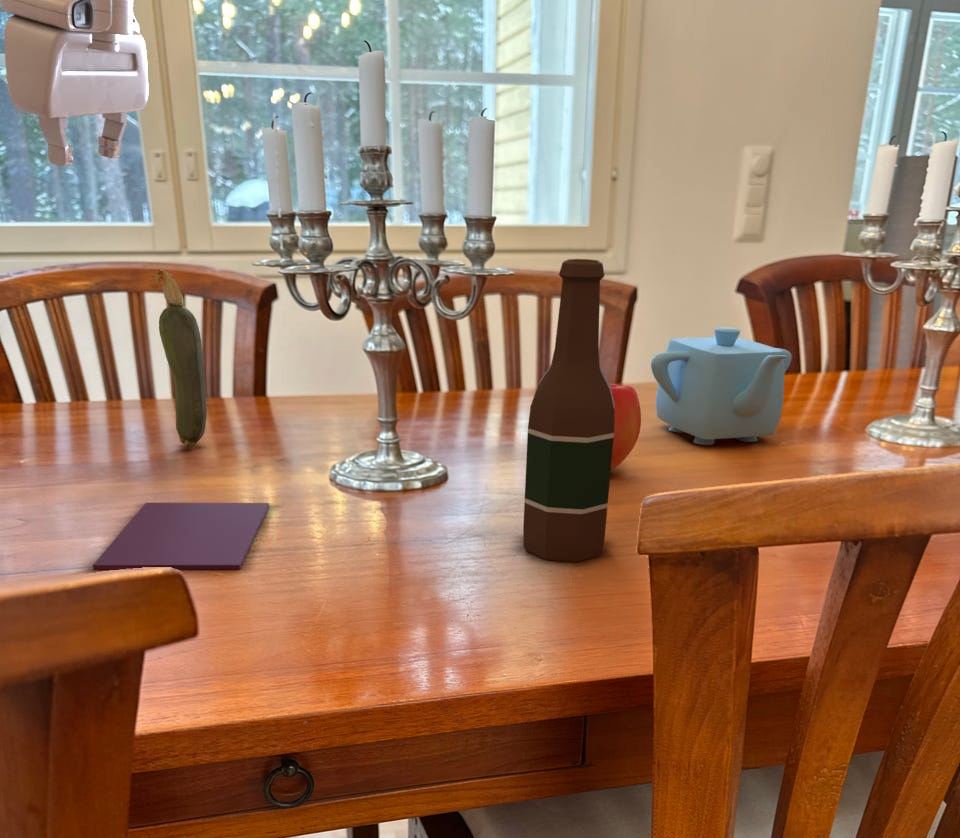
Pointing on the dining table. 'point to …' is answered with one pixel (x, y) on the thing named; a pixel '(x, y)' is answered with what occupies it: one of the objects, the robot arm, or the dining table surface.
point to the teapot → (720, 386)
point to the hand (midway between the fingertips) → (86, 160)
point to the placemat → (186, 536)
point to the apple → (625, 422)
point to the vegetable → (183, 362)
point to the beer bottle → (571, 430)
